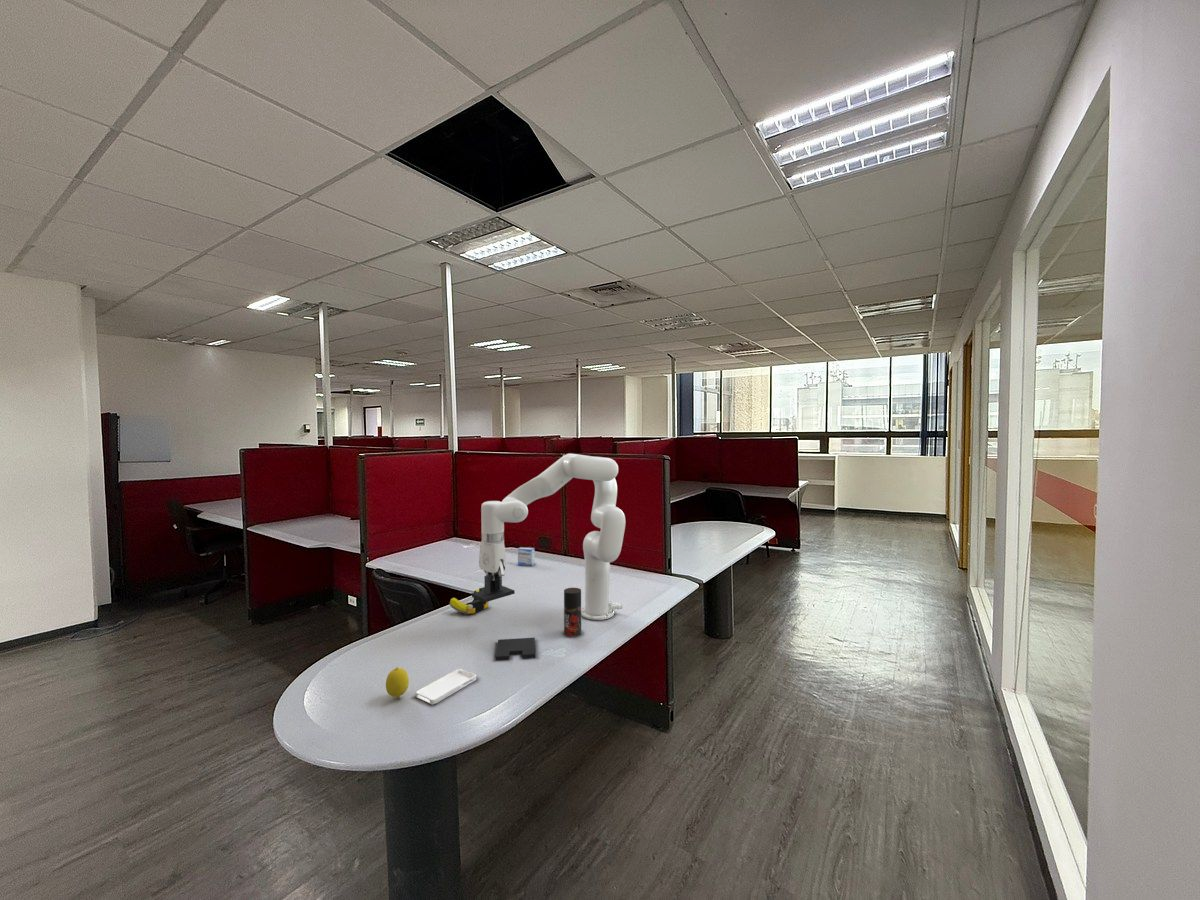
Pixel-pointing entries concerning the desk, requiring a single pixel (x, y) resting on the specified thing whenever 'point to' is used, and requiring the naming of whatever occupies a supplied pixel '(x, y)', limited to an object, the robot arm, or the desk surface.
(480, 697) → the desk surface
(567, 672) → the desk surface
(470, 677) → the phone case
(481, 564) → the robot arm
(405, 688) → the lemon
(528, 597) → the desk surface
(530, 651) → the base pad
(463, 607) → the gaming controller
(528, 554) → the blue and white box
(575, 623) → the deodorant
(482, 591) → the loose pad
